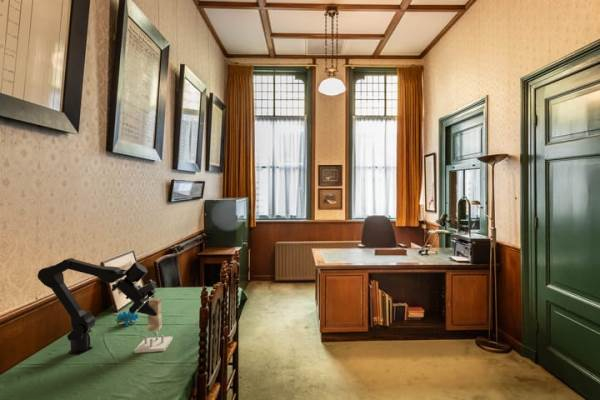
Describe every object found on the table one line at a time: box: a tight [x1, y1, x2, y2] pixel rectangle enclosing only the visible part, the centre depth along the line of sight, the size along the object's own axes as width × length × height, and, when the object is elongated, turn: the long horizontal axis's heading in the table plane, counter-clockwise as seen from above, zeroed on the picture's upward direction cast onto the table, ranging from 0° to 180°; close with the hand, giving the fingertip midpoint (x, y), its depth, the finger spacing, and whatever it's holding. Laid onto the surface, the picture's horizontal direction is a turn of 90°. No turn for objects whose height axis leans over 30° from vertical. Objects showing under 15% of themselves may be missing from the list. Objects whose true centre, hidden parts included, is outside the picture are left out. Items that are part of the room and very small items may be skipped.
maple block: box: [147, 296, 163, 332], centre depth 148 cm, size 4×4×13 cm
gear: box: [114, 311, 139, 328], centre depth 173 cm, size 11×6×10 cm
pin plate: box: [134, 331, 174, 354], centre depth 147 cm, size 12×12×4 cm
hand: (157, 313), depth 148 cm, fingers closed on maple block, 4 cm apart
